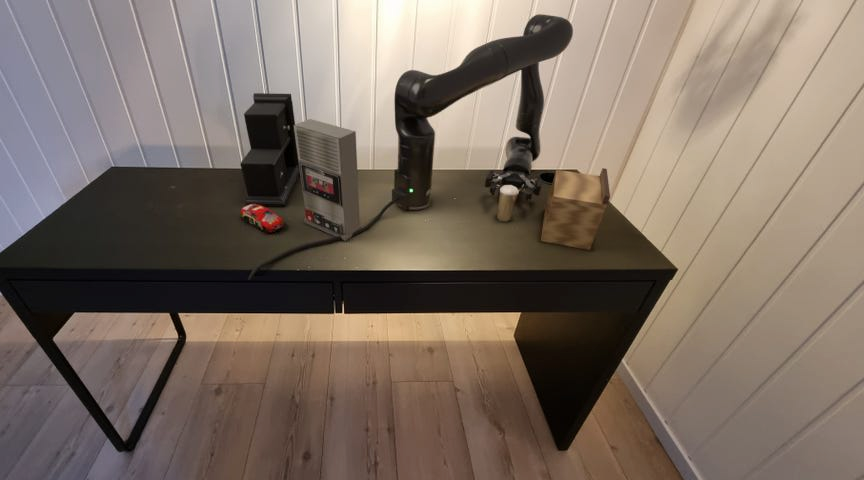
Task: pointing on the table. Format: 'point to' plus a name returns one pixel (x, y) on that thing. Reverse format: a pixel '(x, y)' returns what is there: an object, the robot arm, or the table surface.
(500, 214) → the milkshake
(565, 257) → the table surface
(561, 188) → the block
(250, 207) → the race car
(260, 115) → the bookend
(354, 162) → the cassette tape recorder
